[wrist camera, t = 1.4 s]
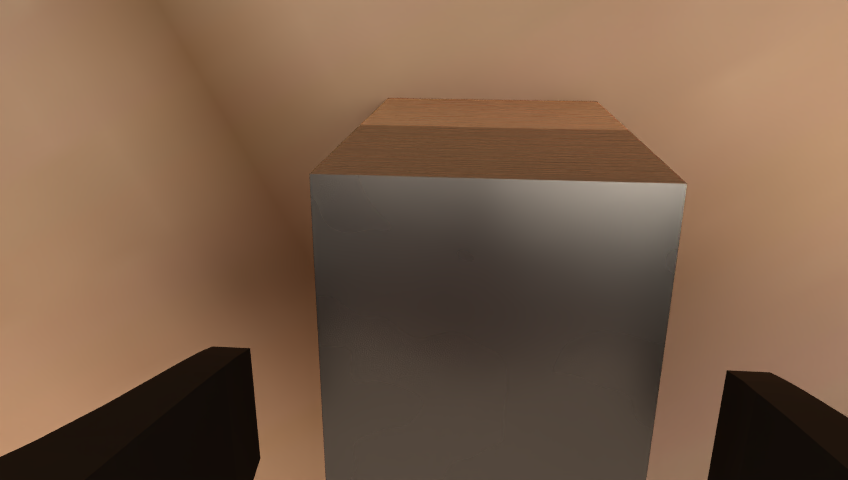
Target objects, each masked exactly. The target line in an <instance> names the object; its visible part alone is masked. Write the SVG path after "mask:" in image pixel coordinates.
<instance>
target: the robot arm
mask: <svg viewBox="0 0 848 480" xmlns="http://www.w3.org/2000/svg"><path fill="white" fill-rule="evenodd" d="M259 461H260V451H259V440H258V429H257V418H256V407H255V397H254V386H253V375H252V364H251V354H250V348H231V347H210V348H208V349H206V350H203V351H201V352H199V353H197V354H195V355H193V356H191V357H189V358H187V359H186V360H184V361H182V362H180V363H178V364H176V365H175V366H173V367H171V368H169V369H167V370H166V371H164V372H162V373H160V374H159V375H157V376H155V377H153V378H152V379H150V380H148V381H146V382H144V383H143V384H141V385H139V386H137V387H136V388H134V389H132V390H130V391H128V392H127V393H125V394H123V395H121V396H120V397H118V398H116V399H114V400H112V401H111V402H109V403H107V404H105V405H103V406H102V407H100V408H98V409H96V410H94V411H92V412H90V413H88V414H86V415H84V416H82V417H80V418H78V419H76V420H75V421H73V422H71V423H69V424H67V425H65V426H63V427H61V428H59V429H57V430H55V431H53V432H51V433H49V434H47V435H45V436H44V437H42V438H40V439H38V440H36V441H34V442H31V443H29V444H27V445H25V446H23V447H21V448H19V449H17V450H14V451H12V452H10V453H8V454H6V455H3V456H1V457H0V480H253V479H254V476H255V473H256V470H257V467H258V464H259ZM708 480H848V417H846V416H844V415H843V414H841V413H840V412H838V411H836V410H835V409H833V408H831V407H830V406H828V405H827V404H825V403H823V402H822V401H820V400H819V399H817V398H815V397H814V396H812V395H810V394H809V393H807V392H805V391H804V390H802V389H800V388H799V387H797V386H795V385H793V384H792V383H790V382H788V381H786V380H784V379H782V378H780V377H778V376H776V375H774V374H772V373H770V372H749V371H727V373H726V378H725V384H724V390H723V395H722V401H721V407H720V412H719V418H718V424H717V429H716V435H715V441H714V446H713V452H712V458H711V463H710V469H709V475H708Z"/></svg>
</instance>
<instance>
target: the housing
mask: <svg viewBox="0 0 848 480" xmlns="http://www.w3.org/2000/svg"><path fill="white" fill-rule="evenodd" d="M686 188H687V183H686V182H685V181H683V180H682V179H681V178H680V177H679V176H678V175H677V174H676V173H675V172H674V171H673V170H671V169H670V168H669V167H668V166H667V165H666V164H665V163H664V162H663V161H662V160H661V159H659V158H658V157H657V156H656V155H655V154H654V153H653V152H652V151H651V150H650V149H649V148H647V147H646V146H645V145H644V144H643V143H642V142H641V141H640V140H639V139H638V138H637V137H635V136H634V135H633V134H632V133H631V132H630V131H629V130H628V129H627V128H626V127H625V126H623V125H622V124H621V123H620V122H619V121H618V120H617V119H616V118H615V117H614V116H613V115H611V114H610V113H609V112H608V111H607V110H606V109H605V108H604V107H603V106H602V105H601V104H599V103H598V102H597V101H538V100H478V99H417V98H388V99H387V100H386V101H385V102H384V103H383V104H382V105H381V106H379V107H378V108H377V109H376V110H375V111H374V112H373V113H372V114H371V115H370V116H369V117H368V118H367V119H366V120H365V121H364V122H363V123H362V124H361V125H360V126H359V127H358V128H357V129H356V130H355V131H354V132H352V133H351V134H350V135H349V136H348V137H347V138H346V139H345V140H344V141H343V142H342V143H341V144H340V145H339V146H338V147H337V148H336V149H335V150H334V151H333V152H332V153H331V154H330V155H329V156H328V157H326V158H325V159H324V160H323V161H322V162H321V163H320V164H319V165H318V166H317V167H316V168H315V169H314V170H313V171H312V172H311V173H310V193H311V212H312V230H313V249H314V268H315V286H316V305H317V324H318V343H319V361H320V380H321V399H322V417H323V436H324V455H325V473H326V480H646V477H647V470H648V463H649V455H650V448H651V441H652V434H653V427H654V419H655V412H656V405H657V398H658V390H659V383H660V376H661V369H662V362H663V354H664V347H665V340H666V333H667V325H668V318H669V311H670V304H671V297H672V289H673V282H674V275H675V268H676V260H677V253H678V246H679V239H680V232H681V224H682V217H683V210H684V203H685V195H686Z"/></svg>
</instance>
